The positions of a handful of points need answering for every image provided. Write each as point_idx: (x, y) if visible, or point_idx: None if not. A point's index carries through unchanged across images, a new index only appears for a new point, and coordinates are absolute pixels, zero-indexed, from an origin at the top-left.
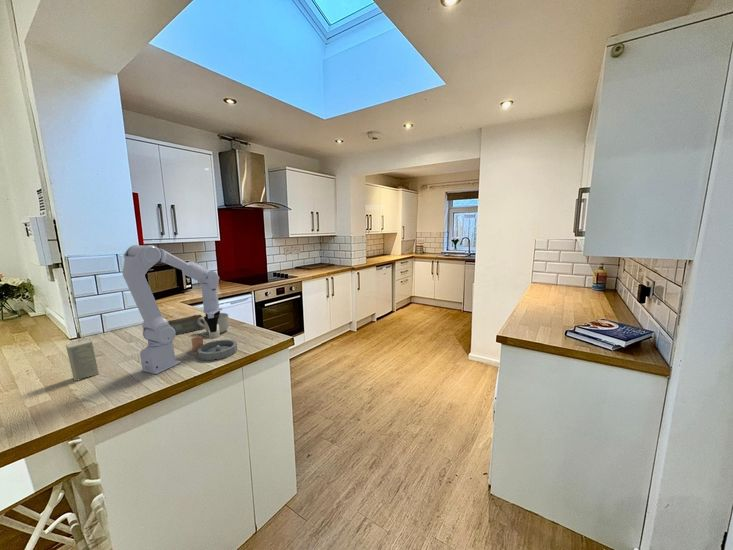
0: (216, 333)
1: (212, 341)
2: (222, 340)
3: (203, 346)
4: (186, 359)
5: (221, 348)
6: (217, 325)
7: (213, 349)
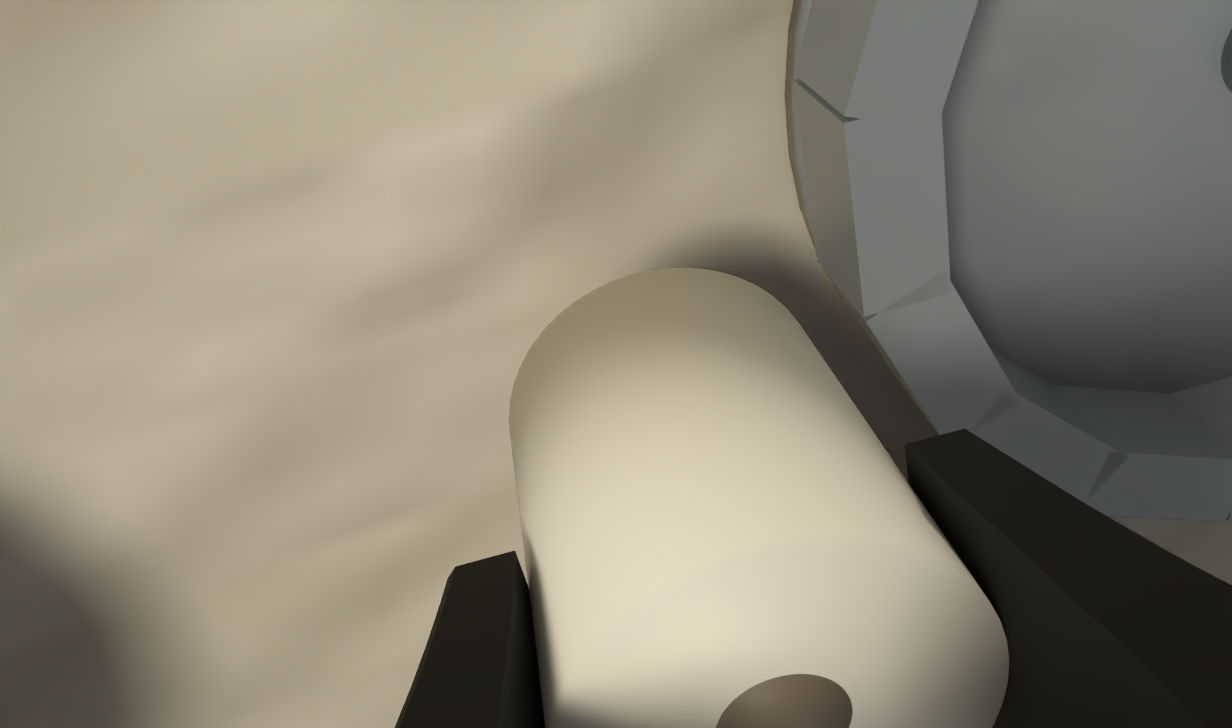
0: (843, 396)
1: (903, 362)
2: (945, 78)
3: (1157, 451)
4: (1227, 544)
5: (1143, 2)
6: (796, 584)
7: (1107, 204)
